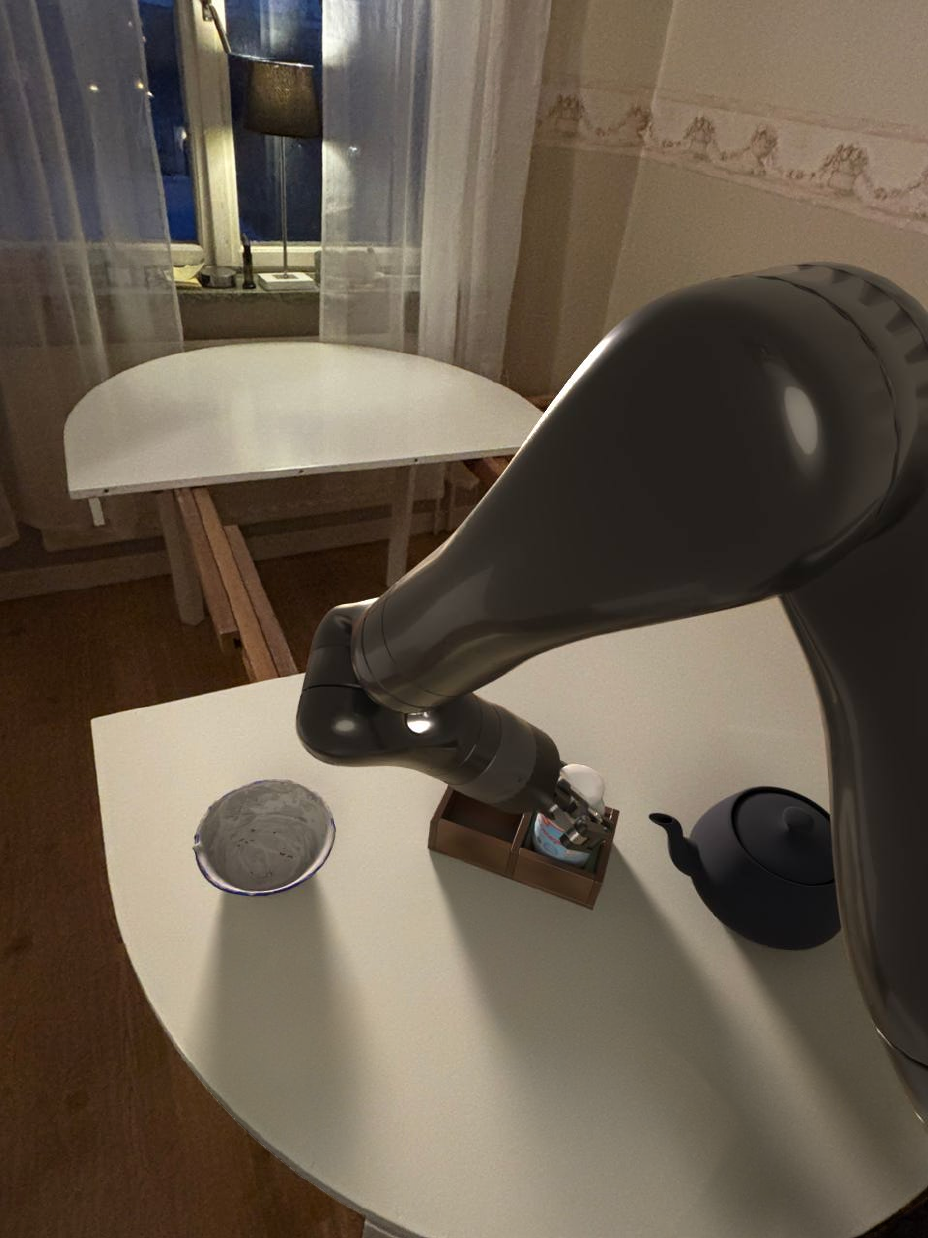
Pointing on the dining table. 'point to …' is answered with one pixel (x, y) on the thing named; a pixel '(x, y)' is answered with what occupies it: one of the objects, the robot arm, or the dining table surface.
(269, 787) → the bowl
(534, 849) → the pill bottle
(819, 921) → the teapot
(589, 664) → the dining table surface
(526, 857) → the wooden compartment box
